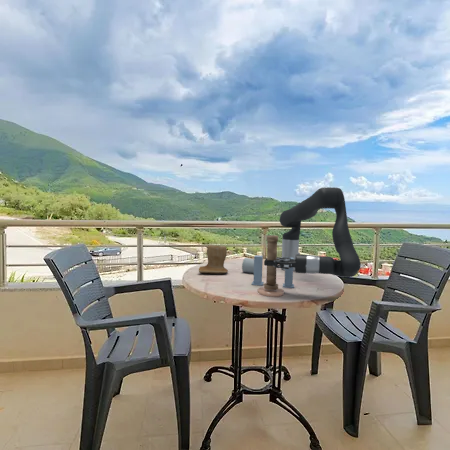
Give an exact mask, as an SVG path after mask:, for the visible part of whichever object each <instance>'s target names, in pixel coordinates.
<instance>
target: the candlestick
mask: <svg viewBox="0 0 450 450" xmlns="http://www.w3.org/2000/svg"><path fill="white" fill-rule="evenodd" d="M265 241H266V242H267V243H266V245H267V247H266V250H267V251H266V258H267V260H273V261H274V260H277V257H278V242H279V236H278V235H271V234H269V235H266V240H265ZM263 287H264V288H265V289H267V290H277V289H278V288H279V284H278V283H277V268H275V267H274V266H266V282H264V283H263Z"/></svg>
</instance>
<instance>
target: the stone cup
mask: <svg viewBox="0 0 450 450" xmlns="http://www.w3.org/2000/svg"><path fill="white" fill-rule="evenodd" d="M227 251H228V249H227V247H226V246H224V245H223V246H222V245H215V244H209V245H208V246H207V249H206V256H207V264H206V265H204V266H203V265H202V266H200V267H199V268H198V273H199V274H215V275H216V274H226V273H228V272H229V270H228V269H227V268H225V265H224V264H225V261H226V258H227V254H228V252H227Z"/></svg>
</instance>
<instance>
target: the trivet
mask: <svg viewBox="0 0 450 450" xmlns="http://www.w3.org/2000/svg"><path fill="white" fill-rule="evenodd" d="M256 292H258V293H259V294H258V293H257V294H258V295H261V296H263V297H271V298H273V297H274V298H275V297H277V298H278V297H282V296H284V295H285V290H284V289H282V288H279V287H278V289H277V290H267V289H265V288H264V286H261V287H259V288H257V291H256Z"/></svg>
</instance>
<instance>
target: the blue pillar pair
mask: <svg viewBox="0 0 450 450" xmlns="http://www.w3.org/2000/svg"><path fill="white" fill-rule="evenodd" d="M263 256H264V255H254V257H253V259H254V273H253V280H252V282H251V285H252V286H259V287H260V286H261V287H264V284H265V282H264V281H263V265H264V261H263V259H264V257H263ZM289 258H291V257H289ZM291 259H294V258H291ZM293 280H294V271H293V268H290V269H285V270H284V283H282V288H285V289H295V284H294V283H293Z"/></svg>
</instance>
